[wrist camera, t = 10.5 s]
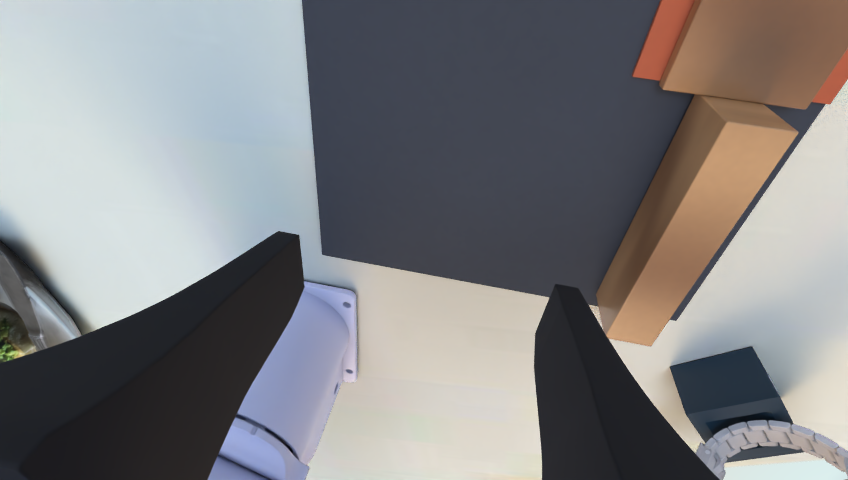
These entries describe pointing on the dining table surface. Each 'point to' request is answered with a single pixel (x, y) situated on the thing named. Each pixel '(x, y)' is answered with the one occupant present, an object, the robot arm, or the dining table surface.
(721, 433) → the watch
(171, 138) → the dining table surface
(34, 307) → the salad plate
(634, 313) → the spatula
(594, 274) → the corner mat
